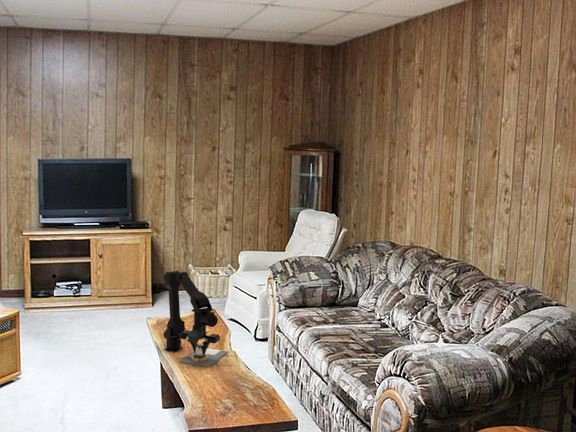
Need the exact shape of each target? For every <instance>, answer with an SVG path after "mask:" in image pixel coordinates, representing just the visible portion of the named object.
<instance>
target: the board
mask: <svg viewBox="0 0 576 432" xmlns="http://www.w3.org/2000/svg"><path fill="white" fill-rule="evenodd" d="M228 353H229V351H226V350H221V351H220V352H219V353H217V354H216V355H214V356H213V355H208V356H209V360H208V361H206V362H193V361H191V360H190V356H191V355H193V354H195V353H194V351H193V352H192V353H190V354H189V355H186V356H185V357H184V358H182V359H181V360H179V364H184V365H190V366H198V367H204V368H210V367H211V366H212V365H214V364H215V363H216V362H218V361H220V360H221V359H222V358H224V357H225V356H226V355H228Z"/></svg>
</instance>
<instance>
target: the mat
mask: <svg viewBox="0 0 576 432" xmlns="http://www.w3.org/2000/svg"><path fill="white" fill-rule="evenodd" d="M220 351H222V350H221V349H214V348H207V350H206V353H205V354H207V355H213V356H214V355H216V354H217V353H219V352H220Z"/></svg>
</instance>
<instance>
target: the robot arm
mask: <svg viewBox="0 0 576 432" xmlns="http://www.w3.org/2000/svg"><path fill="white" fill-rule="evenodd" d="M163 281H164V285H165V286H166V288H167V289H168V304H169V307H168V308H169V319H168V322H167V325H166V329H165V331H164V332H163V333H162V334H163V338H164V339H165V340H166V347H165V349H164V350H165V351H169V352H176V353H177V352H178V351H180V350H181V349H182V348H183V347H182V340H186V341H187V342H189V344H190V345H191V347H192V350H193V352H194V353H195V354H196V344H198V342H199V341H200V340H204V341H202V343H201V344H203V355H205V353H206V350H207V348H208V347H209V345H210V344H216V343H218V342H219V341H221V336H220V334H218V333H217V334H215V333H211V334H210V335H207V334H208V331H207V327H209V328H214V327H215V326H216V325H217V324H218V321H219V319H218V317H217V315H216V314H215V312H214V311H213V306H212V304H211V303H210V300H209V297H208V296H207V295H206V294H205V293H204V292H201V291H200V290H199V289H198V287H197V286H196V285H195V283H194V282H193V280H192V279H191V278H190V276H189V273H188V272H187V271H181V272H180V271H179V270H174V271H172V270H171V271H166V272H165V273H164V275H163ZM180 286H182V288H184V290H185V292H186V293H187V295H188V296H189V299H190V300H189V302H190V304H191V306H192V308H193V309H191V312H193V325H192V328H191V329H192V330H191V329H190V330H189V329H188V330H186V326H185V321H184V320H183V319H182V318H181V311H180V310H181V305H180V293H179V292H180V291H179V288H180ZM187 337H188V339H187ZM208 349H209V348H208Z"/></svg>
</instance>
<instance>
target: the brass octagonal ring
mask: <svg viewBox="0 0 576 432" xmlns="http://www.w3.org/2000/svg"><path fill="white" fill-rule="evenodd" d="M195 355H196V354H193V355H191V356H190V360H191V361H193V362H206V361H208V360H209V356H208V355H207V354H205V355H204V358H195Z"/></svg>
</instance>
